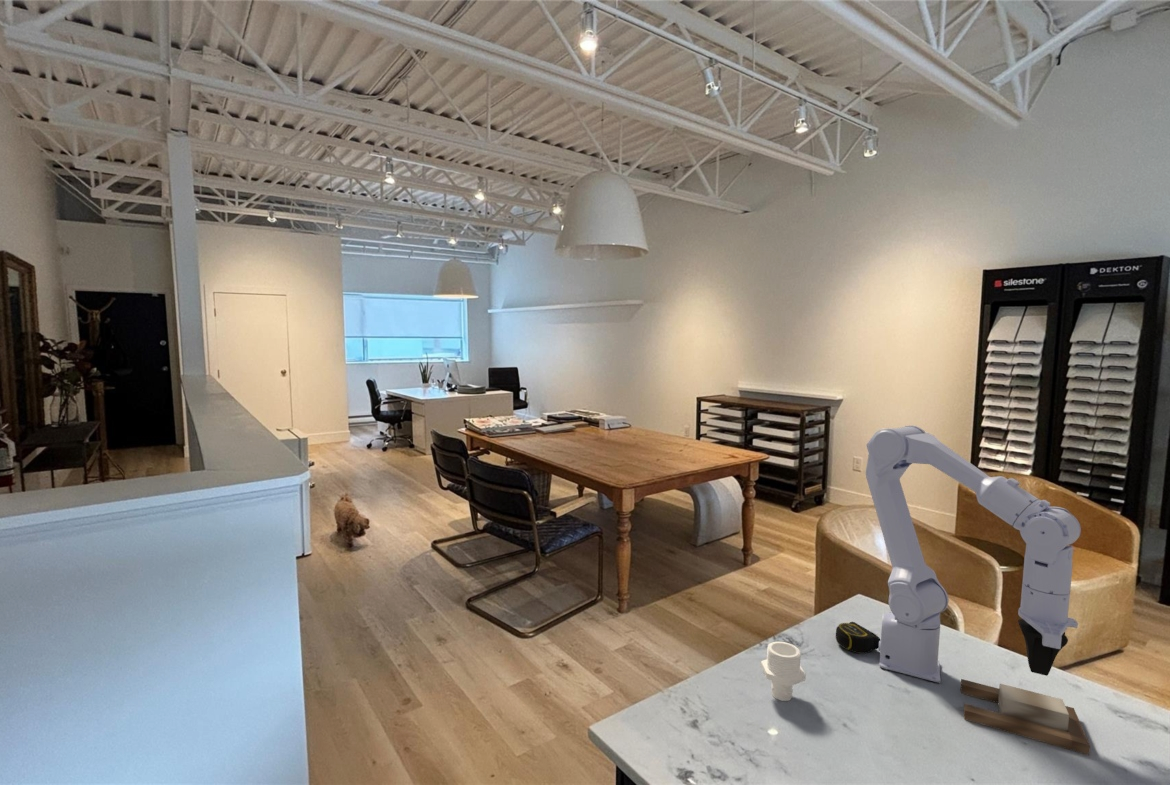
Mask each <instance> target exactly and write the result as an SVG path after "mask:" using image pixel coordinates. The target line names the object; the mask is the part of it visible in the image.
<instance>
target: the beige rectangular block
mask: <svg viewBox="0 0 1170 785" xmlns="http://www.w3.org/2000/svg"><path fill="white" fill-rule="evenodd" d="M998 689H999V698H998V703H997V706H998V707H997V708H998V713H1001V714H1004V715H1008V716H1011V717H1015V718H1019V719H1022V720H1026V721H1030V722H1033V723H1037V724H1040V725H1044V726H1048V727H1051V728H1055V729H1058V730H1062V731H1066V732H1068V722H1069V714H1068V711H1067V709H1066V707H1065V706H1066V705H1065V701H1064V699H1062V698H1059V697H1055V696H1051V695H1046V694H1043V693H1039V692H1035V691H1031V690H1027V689H1023V688H1019V687H1016V686H1011V685H1008V684H1003V683H999V687H998Z"/></svg>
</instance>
